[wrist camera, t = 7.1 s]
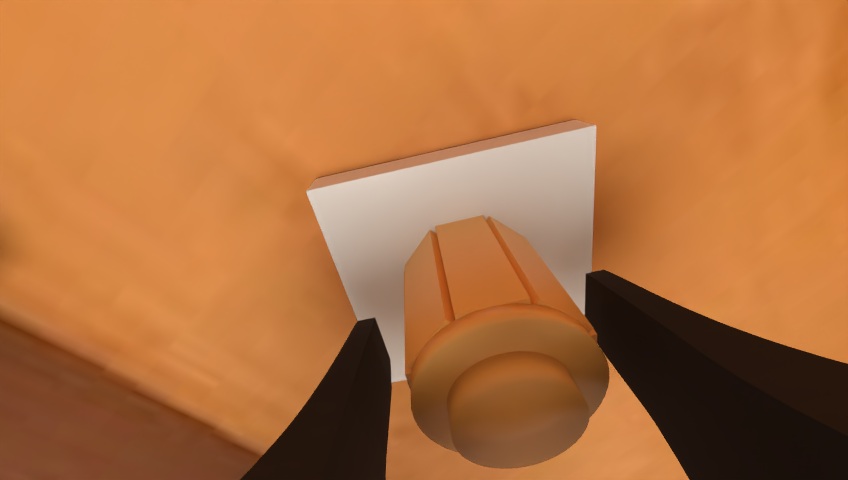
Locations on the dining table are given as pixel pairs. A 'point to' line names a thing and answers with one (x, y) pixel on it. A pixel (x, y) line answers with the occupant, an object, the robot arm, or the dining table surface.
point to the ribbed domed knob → (496, 348)
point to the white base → (459, 213)
